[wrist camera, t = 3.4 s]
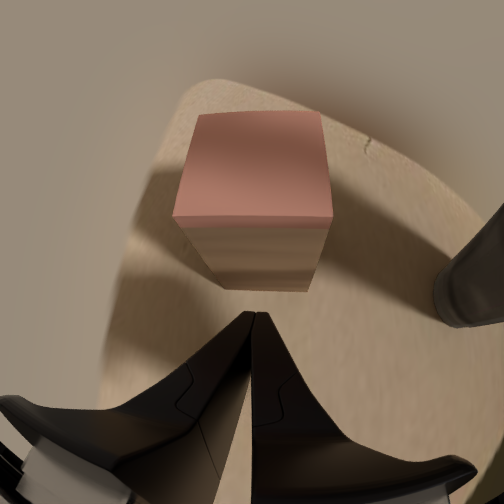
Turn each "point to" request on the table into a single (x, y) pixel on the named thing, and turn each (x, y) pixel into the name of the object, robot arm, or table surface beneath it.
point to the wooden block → (257, 198)
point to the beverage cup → (474, 280)
